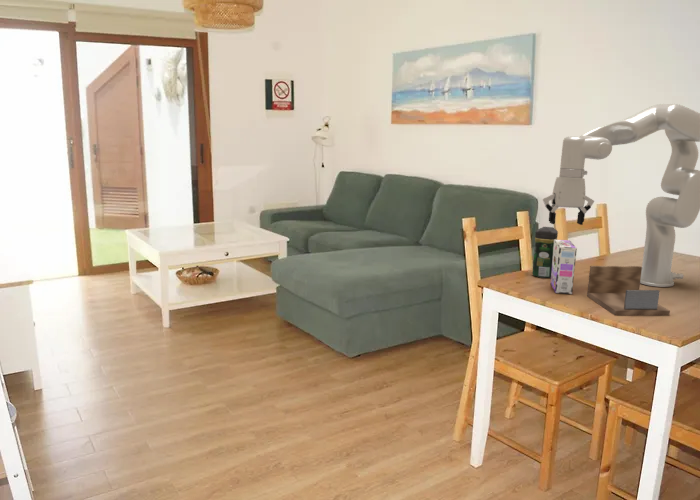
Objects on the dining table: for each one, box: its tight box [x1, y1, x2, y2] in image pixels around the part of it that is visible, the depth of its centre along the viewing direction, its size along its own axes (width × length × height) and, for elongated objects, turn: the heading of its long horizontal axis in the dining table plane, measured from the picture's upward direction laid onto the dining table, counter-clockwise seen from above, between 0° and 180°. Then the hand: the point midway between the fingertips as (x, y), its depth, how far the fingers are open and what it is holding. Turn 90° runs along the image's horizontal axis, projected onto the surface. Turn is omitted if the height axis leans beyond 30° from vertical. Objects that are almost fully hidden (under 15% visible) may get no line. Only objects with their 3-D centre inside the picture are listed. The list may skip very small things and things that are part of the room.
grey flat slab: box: [624, 289, 660, 310], centre depth 181 cm, size 10×1×6 cm, turn 92°
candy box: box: [550, 239, 578, 295], centre depth 207 cm, size 14×6×16 cm, turn 168°
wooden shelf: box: [586, 265, 671, 316], centre depth 189 cm, size 17×20×10 cm
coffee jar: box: [532, 226, 559, 279], centre depth 224 cm, size 10×8×19 cm
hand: (565, 223), depth 204 cm, fingers open, 9 cm apart
